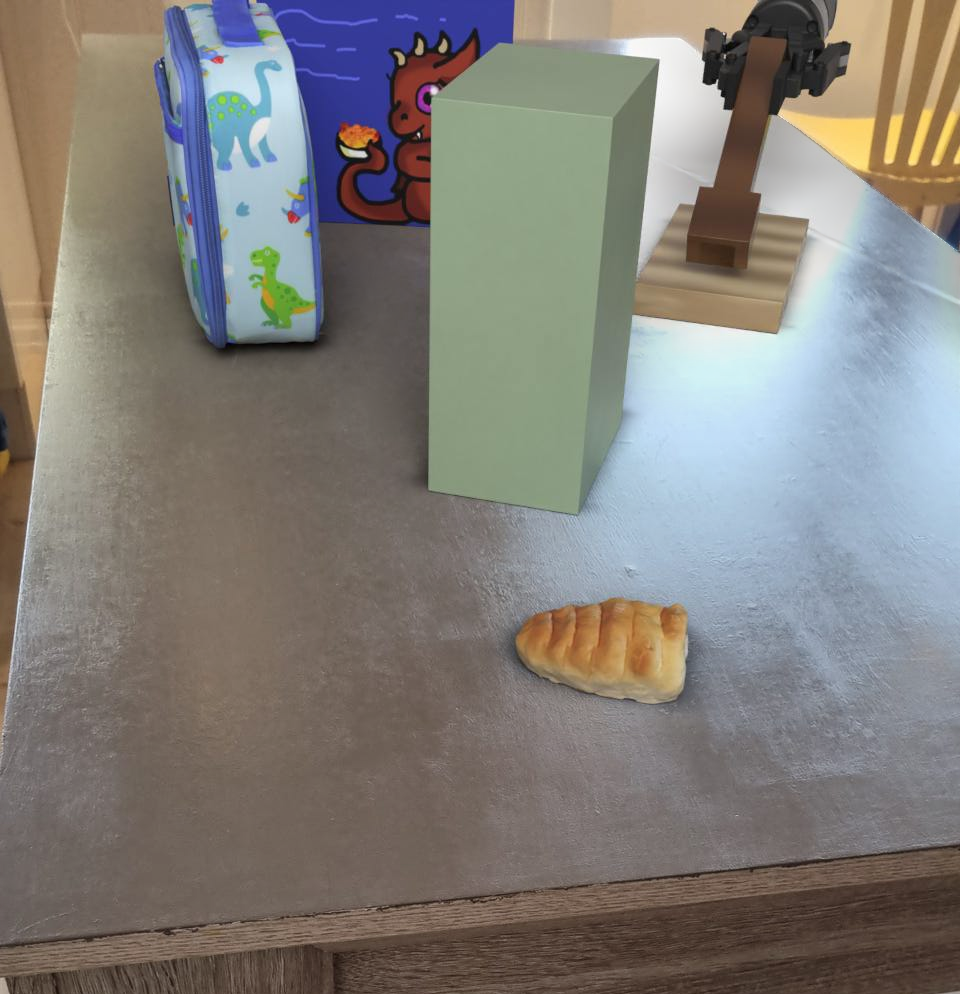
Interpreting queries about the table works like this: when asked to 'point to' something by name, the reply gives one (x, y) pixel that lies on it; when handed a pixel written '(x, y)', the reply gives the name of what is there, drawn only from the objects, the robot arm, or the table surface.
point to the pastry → (610, 648)
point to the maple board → (723, 277)
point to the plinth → (534, 269)
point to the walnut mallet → (737, 167)
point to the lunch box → (240, 174)
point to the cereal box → (381, 93)
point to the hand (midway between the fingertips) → (752, 94)
